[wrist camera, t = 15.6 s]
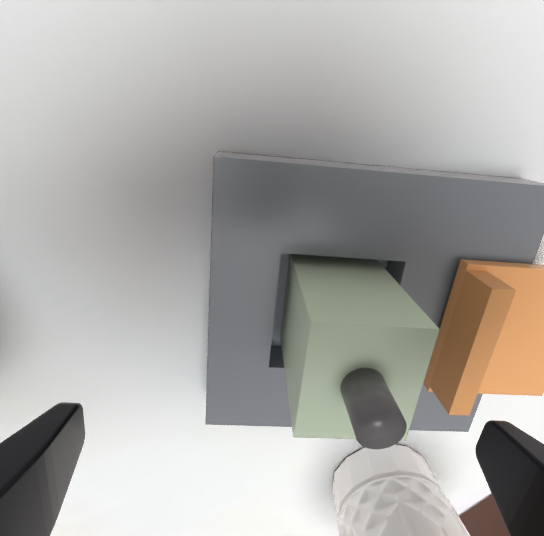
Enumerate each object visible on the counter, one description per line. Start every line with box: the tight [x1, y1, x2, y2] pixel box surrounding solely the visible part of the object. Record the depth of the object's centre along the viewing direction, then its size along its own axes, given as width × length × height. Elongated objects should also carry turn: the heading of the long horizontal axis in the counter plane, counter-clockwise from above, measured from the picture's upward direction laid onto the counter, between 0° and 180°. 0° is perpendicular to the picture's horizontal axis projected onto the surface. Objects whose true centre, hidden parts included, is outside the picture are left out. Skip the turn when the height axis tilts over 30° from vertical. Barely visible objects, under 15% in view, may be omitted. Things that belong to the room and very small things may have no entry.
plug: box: [280, 254, 439, 450], centre depth 15 cm, size 4×5×9 cm
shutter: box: [423, 259, 544, 415], centre depth 17 cm, size 6×7×2 cm
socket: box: [206, 151, 544, 432], centre depth 19 cm, size 15×14×2 cm
